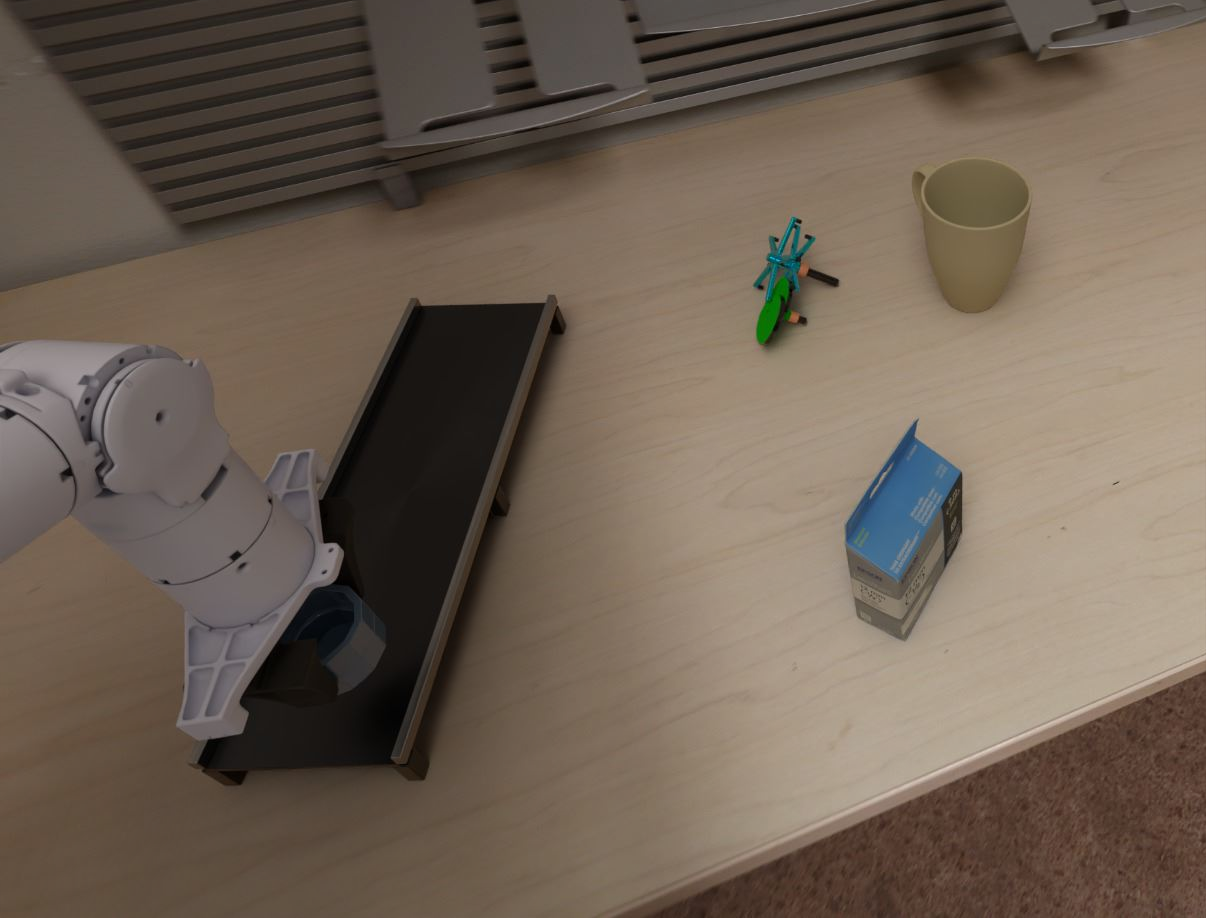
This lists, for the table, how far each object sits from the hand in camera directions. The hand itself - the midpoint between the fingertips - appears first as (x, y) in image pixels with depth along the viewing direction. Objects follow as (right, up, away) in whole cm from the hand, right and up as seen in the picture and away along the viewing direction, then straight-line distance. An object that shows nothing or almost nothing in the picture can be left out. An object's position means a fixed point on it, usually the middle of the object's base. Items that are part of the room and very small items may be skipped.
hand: (332, 647), depth 54 cm
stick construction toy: (+23, +18, +30) cm, 42 cm away
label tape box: (+33, 0, +12) cm, 35 cm away
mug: (+38, +19, +31) cm, 53 cm away
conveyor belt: (-2, +3, +15) cm, 16 cm away
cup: (0, -1, +1) cm, 1 cm away
